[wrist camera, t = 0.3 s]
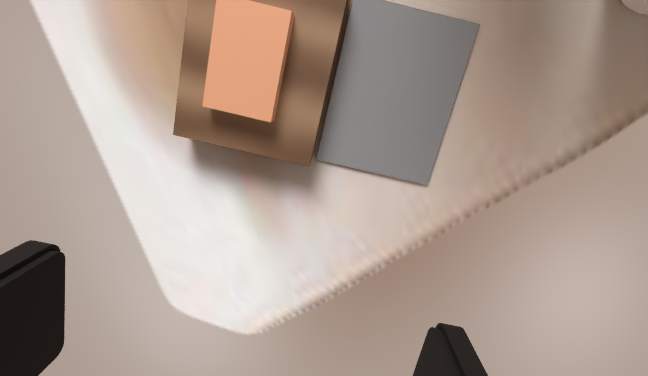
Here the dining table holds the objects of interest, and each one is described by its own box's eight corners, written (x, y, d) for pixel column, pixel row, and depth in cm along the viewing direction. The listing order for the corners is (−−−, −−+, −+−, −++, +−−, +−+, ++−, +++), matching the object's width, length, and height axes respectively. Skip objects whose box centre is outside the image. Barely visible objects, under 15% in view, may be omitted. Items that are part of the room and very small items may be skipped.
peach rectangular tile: (224, -3, 31) (217, -8, 29) (294, 14, 31) (291, 10, 29) (209, 104, 33) (202, 106, 31) (274, 120, 34) (270, 122, 32)
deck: (210, -43, 34) (194, -58, 30) (349, -8, 34) (350, -19, 30) (189, 129, 38) (173, 134, 34) (311, 157, 38) (309, 166, 35)
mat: (354, -7, 34) (354, -7, 34) (478, 24, 34) (479, 24, 34) (316, 158, 38) (316, 159, 38) (426, 184, 39) (427, 185, 39)
